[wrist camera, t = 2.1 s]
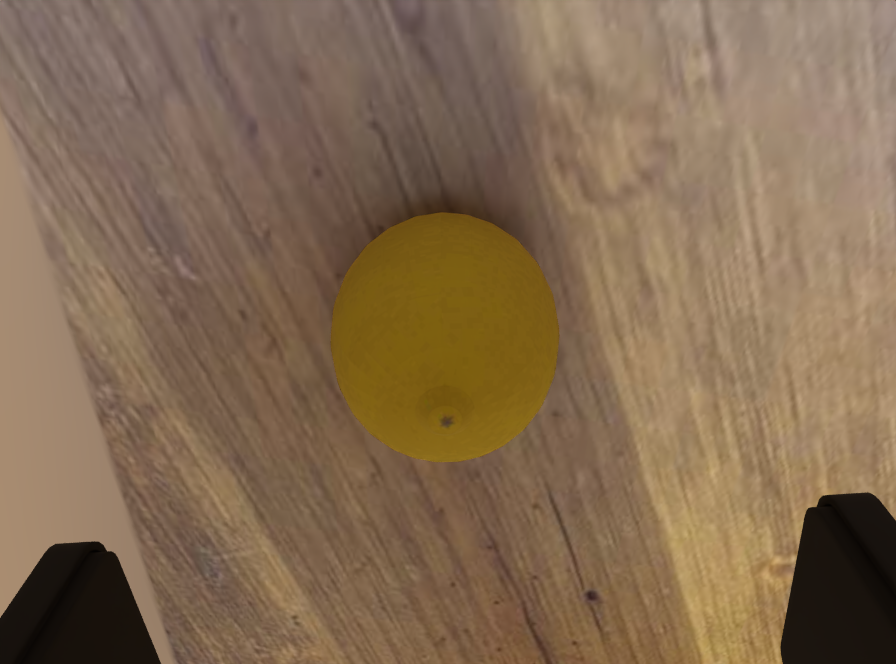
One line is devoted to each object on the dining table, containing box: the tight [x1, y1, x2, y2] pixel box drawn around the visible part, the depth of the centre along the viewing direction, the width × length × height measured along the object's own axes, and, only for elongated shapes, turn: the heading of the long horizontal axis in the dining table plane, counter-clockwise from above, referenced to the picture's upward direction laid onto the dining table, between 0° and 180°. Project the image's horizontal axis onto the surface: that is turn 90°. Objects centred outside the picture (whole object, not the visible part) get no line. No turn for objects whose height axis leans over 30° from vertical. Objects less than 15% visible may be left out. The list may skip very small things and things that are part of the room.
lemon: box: [331, 212, 559, 462], centre depth 18 cm, size 6×6×8 cm
